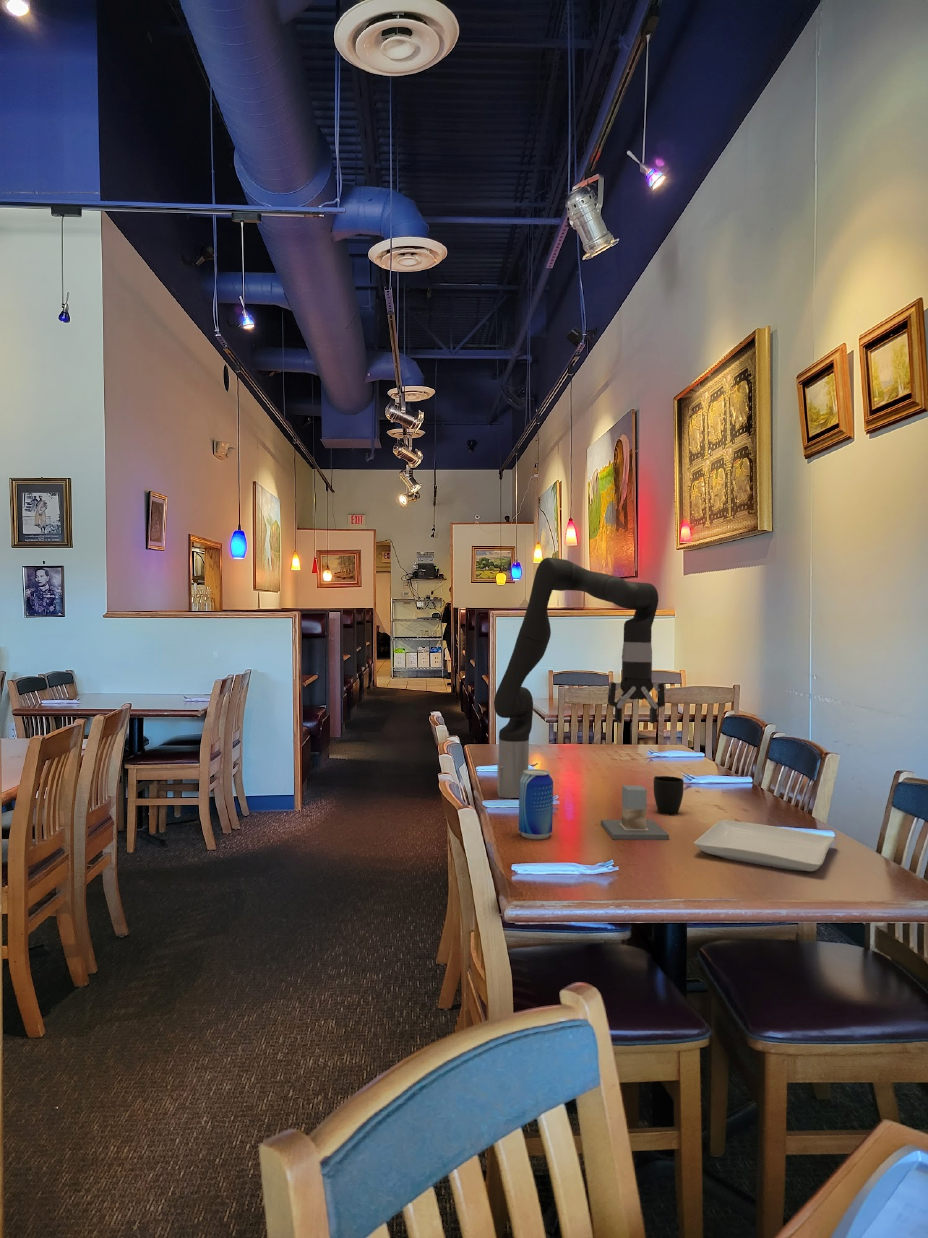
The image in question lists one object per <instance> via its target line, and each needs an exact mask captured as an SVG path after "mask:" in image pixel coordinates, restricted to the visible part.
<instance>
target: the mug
mask: <svg viewBox="0 0 928 1238" xmlns="http://www.w3.org/2000/svg"><path fill="white" fill-rule="evenodd" d="M684 782H685V781H684V779H683V778H680V777H677V776H669V775H668V776H667V775H661V776H659V775H657V776H654V777H653V796H654V801H655V805H656V808H657V813H659V814H662V815H666V814H668V816H673V814H676V815H679V811H680V808H681V806H682V805H681V804H682V801H683V796H684Z"/></svg>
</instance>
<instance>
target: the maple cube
mask: <svg viewBox="0 0 928 1238" xmlns="http://www.w3.org/2000/svg"><path fill="white" fill-rule="evenodd" d="M621 820H622V825H623V826H624V827H625V828H626V829H646V820H647V810H627V809H626V808H625V807H624V806H623V805H622V804H621Z"/></svg>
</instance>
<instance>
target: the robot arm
mask: <svg viewBox="0 0 928 1238" xmlns="http://www.w3.org/2000/svg"><path fill="white" fill-rule="evenodd" d="M553 591H560V592H563V591H564V592H565V591H575V592H576V591H579V592H583V593H587V595H590V596H591V597H593V598H595V599H598V600H602V601H605V602H608V603H612V604H614V605H615V606H618V607H620V608H623V609H626V610H634V611H635V612H634V614H633V617H632V618H629V619H626V621H624V623H623V624H624V625H623V644H622V653H621V681H620V682H614V681H610V682H608V693H607V695H608V696H607V704H608V705H610V707H611V706H612V707H614V719H615V721H616V723H618V724H622V721H623V717H622V716H623V708H622V707H623V705H624V704H625V703H626V702H627V701H628V700H632V701H633V700H640V701H641V700H645V701H646V702H647V704H648V705H649V706H650V708H649V724H656V722H657V720H658V709H659V708H662V707H663V708H664V706H666V699H665V684H664V683H663V682H656V683H653V680H652V679H653V678H652V677H653V676H652V675H653V672H652V671H653V648H652V637H653V636H652V633H653V632H652V627H653V623H654V620H655V618H656V613H657V609H658V605H659V593H658V589H657V588H656V586H655V585H653V584H652V583H649V582H637V581H628V580H625V579H623V578H621V577H619V576H615V575H611V574H607V573H602V572H596V571H592V570H589V569H586V568H584V567H582V566H580V565H579V564H576V563H574V562H572V561H570V560H567V559H562V558H556V557H545V558H542V560H540V562H539V563H538V566H537V568H536V571H535V575H534V579H533V583H532V587H531V592H530V595H529V600H528V603H527V608H526V611H525V615H524V617H523V620H522V624H521V626H520V629H519V632H518V634H517V637H516V641H515V643H514V644H515V645H514V647H513V651H512V654H511V657H510V659H509V662H508V665H507V668H506V670H505V672H504V675H503V677H502V679H501V681H500V683H499V686H498V687H497V690H496V693H495V695H494V700H493V707H494V708H493V709H494V712H495V713H496V715H497V716H498V717H500V718H502V719H509V721H508V722H507V724H506V725H505V726H503V727H502V728H501V729H499V730H498V731H499V732H498V761H497V768H496V769H497V776H496V777H497V779H496V780H497V782H496V783H497V784H496V793H497V797H498V798H504V799H511V798H519V782H520V778H521V777H522V775H523V774H524V773H523V771H524V770H528V769H529V761H530V760H529V758H530V757H529V755H530V754H529V753H530V748H529V747H530V734H531V731H532V728H533V717H534V716H533V714H534V700H533V695H532V693H531V691H530V690H529V689H528V688H527V687H523V683H524V681H525V680H526V678H527V677H528V675H530V673H531V672H532V671H533V669H534V668H535V667H536V666H537V665H538V664H539V663H540V662H541V660H542V659H543V657H544V655H545V653H546V650H547V648H548V645H549V642H550V639H551V635H552V633H551V632H552V631H551V623H550V618H549V614H548V608H549V607H548V606H549V601H550V598H551V595H552V594H553V593H552V592H553ZM619 688H620V689H621V690H622V693H621V694H620V696H619V697H618V699H617V700H616V692H617V691H618V690H619ZM653 689H654V690H655V691H656V697H657V698H656V699H657V700H656V701H655V699H654V697H653V696H652V695H651V694H650V693H651V691H652V690H653Z"/></svg>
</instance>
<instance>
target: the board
mask: <svg viewBox="0 0 928 1238" xmlns="http://www.w3.org/2000/svg"><path fill="white" fill-rule="evenodd" d="M600 825H601V826H602V827H603V829H604V830H605V831H606V832H607V833H608V835H609V836H610V837H611V838H612V840H642V841H643V840H648V841H649V840H654V841H655V840H657V841H658V840H661V841H662V840H664V841H665V840H666V841H668V840H670V834H669V833H668V832H666V830H665V829H663V828H662V827H661V826H660V825H659V824H658V823H657V822H655V820H654V819H646V829H626V828H625V827H624V826H623V825H622V819H600Z"/></svg>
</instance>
